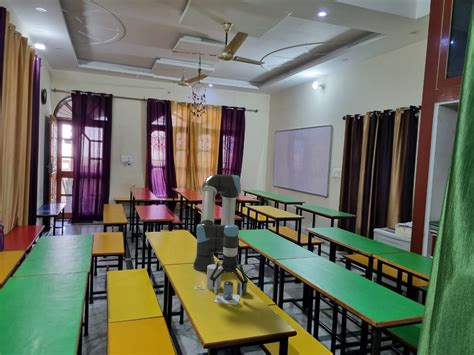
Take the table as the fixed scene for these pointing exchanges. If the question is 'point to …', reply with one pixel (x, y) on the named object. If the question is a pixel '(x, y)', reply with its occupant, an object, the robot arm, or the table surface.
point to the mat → (220, 300)
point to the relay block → (239, 288)
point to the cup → (209, 272)
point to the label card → (199, 288)
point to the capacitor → (228, 290)
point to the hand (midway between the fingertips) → (227, 294)
